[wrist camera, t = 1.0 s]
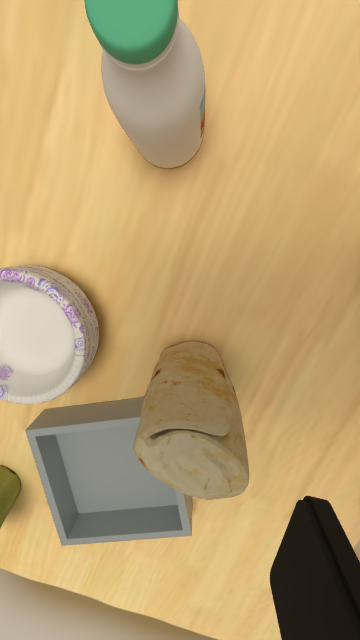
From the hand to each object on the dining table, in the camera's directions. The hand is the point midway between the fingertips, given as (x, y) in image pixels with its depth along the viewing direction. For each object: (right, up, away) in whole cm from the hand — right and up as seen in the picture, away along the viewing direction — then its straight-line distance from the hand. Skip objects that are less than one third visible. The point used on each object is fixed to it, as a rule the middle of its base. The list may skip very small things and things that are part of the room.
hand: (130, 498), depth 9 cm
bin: (-7, -15, +36) cm, 40 cm away
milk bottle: (0, +26, +26) cm, 36 cm away
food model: (+4, 0, +32) cm, 32 cm away
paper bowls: (-15, +5, +32) cm, 36 cm away
